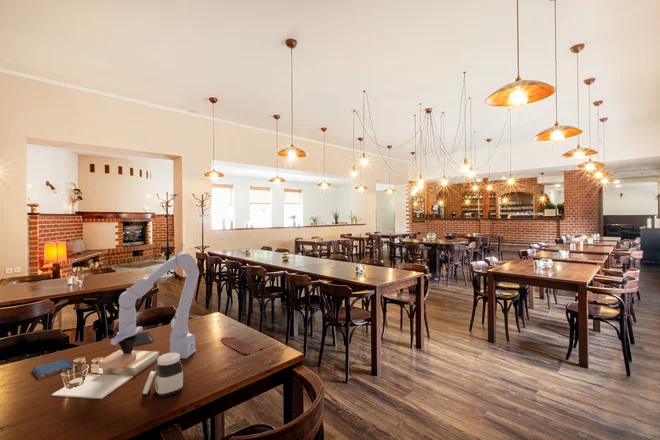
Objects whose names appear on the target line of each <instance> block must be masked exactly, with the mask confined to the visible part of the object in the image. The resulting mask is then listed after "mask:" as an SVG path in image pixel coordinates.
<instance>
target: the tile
mask: <svg viewBox="0 0 660 440" xmlns="http://www.w3.org/2000/svg"><path fill="white" fill-rule="evenodd" d="M114 353H115V352H114ZM112 354H113V353H112ZM110 355H111V354H110ZM108 356H109V355H108ZM106 357H107V356H106ZM104 358H105V357H104ZM104 358H103V359H104ZM101 360H102V359H101ZM134 360H136V354H122V353H115V354H113V355H111V356H109V357H107V358H105V359H104V360H102V361H100V360H99V361H100V362H98V361H97V362H98V365H99V368H113V369H121V368H123V367H124V366H126V365H128V364H129V363H131V362H133V361H134Z"/></svg>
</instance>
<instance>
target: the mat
mask: <svg viewBox="0 0 660 440" xmlns="http://www.w3.org/2000/svg"><path fill="white" fill-rule="evenodd" d="M87 374H88V375H87V377H86V378H85V380H84V383H83V384H82V385H80V386H77V387H73V388H71V389H67V388H66V386H67V385H66V386H64V387H62V388H60V389H59V390H57V391H55V392H53V393H52V394H51V397H61V398H62V397H63V398H64V397H65V398H77V399H78V398H80V399H81V398H83V399H97V400H99V399H100V400H102V399H104V398H105V397H107V396H108V395H109V394H110V393H112V392H114V391H115V390H117V389H118V388H119V387H120V386H122V385H124V384H125V383H127V382H128V381H129V380H131V379H132V378H134V376H131V375H111V374H102V375H100V376H97V377H92V375H91V374H92V373H91V372H90V373H87Z"/></svg>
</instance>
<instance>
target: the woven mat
mask: <svg viewBox="0 0 660 440" xmlns="http://www.w3.org/2000/svg"><path fill="white" fill-rule="evenodd" d="M70 367H72V368H74V364H73V363H72V362H71V361H70V360H68V359H67V358H64V359H60V360H58V361H54V362H50V363H45V364H43V365H38V366H35V367H33V368H32V370H31V371H32V374H33V375H35V378H37V379H38V378H39V379H38V380H41V379H42V378H46V377H47V378H48V377H50V376H53V375H58V374H60V373H61V371H63V370H65V369H67V370H69V369H68V368H70Z"/></svg>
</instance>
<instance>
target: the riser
mask: <svg viewBox="0 0 660 440" xmlns="http://www.w3.org/2000/svg"><path fill="white" fill-rule="evenodd" d="M115 353H122V354H123V351H122V349H118V350H117V351H115V352H112V353H111V354H109V355H107V356H105V357H104V358H102V359H103V360H104V359H105V358H107V357H109V356H111V355H113V354H115ZM131 354H136V360H134V361H133V362H131V363H129V364H128V365H126V366H124V367H123V368H121V369H113V368H102V369H103V374H109V375H128V376H133V377H134V376H136V375H139V374H140V373H141V372H142V371H144V370H145V369H147V368H148V367H149V366H151V365H153V364H155V362H158V357H160V351H153V350H152V351H149V350H132V353H131Z"/></svg>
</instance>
